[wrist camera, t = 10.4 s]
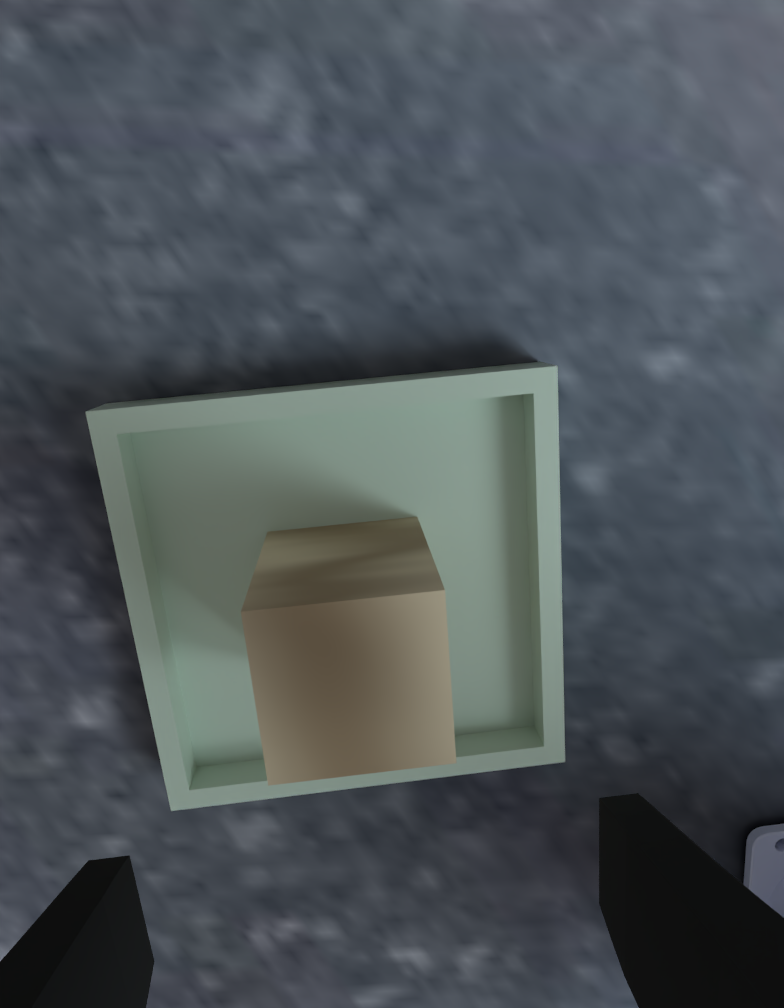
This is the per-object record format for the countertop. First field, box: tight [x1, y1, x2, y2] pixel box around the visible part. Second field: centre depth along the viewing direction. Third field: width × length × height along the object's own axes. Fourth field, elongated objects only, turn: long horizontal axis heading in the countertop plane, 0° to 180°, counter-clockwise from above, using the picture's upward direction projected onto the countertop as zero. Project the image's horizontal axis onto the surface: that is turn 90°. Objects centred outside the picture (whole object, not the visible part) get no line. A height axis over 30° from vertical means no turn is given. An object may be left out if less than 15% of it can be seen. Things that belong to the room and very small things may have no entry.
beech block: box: [241, 517, 456, 786], centre depth 16 cm, size 4×4×5 cm
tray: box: [86, 362, 565, 811], centre depth 18 cm, size 11×11×2 cm
